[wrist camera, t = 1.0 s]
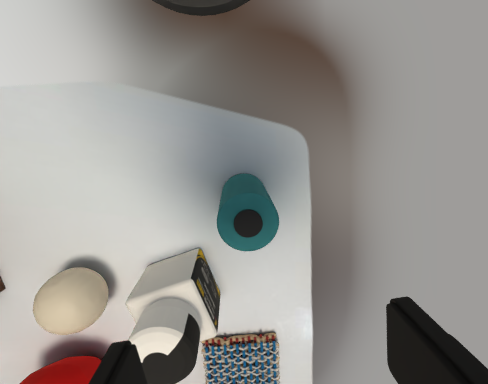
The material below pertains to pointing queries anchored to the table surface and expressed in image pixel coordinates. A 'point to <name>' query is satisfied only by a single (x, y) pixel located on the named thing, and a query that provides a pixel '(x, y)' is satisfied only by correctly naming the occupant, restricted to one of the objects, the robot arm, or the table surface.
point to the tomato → (66, 371)
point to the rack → (1, 285)
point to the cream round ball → (70, 301)
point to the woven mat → (242, 359)
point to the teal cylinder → (246, 214)
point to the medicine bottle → (173, 315)
